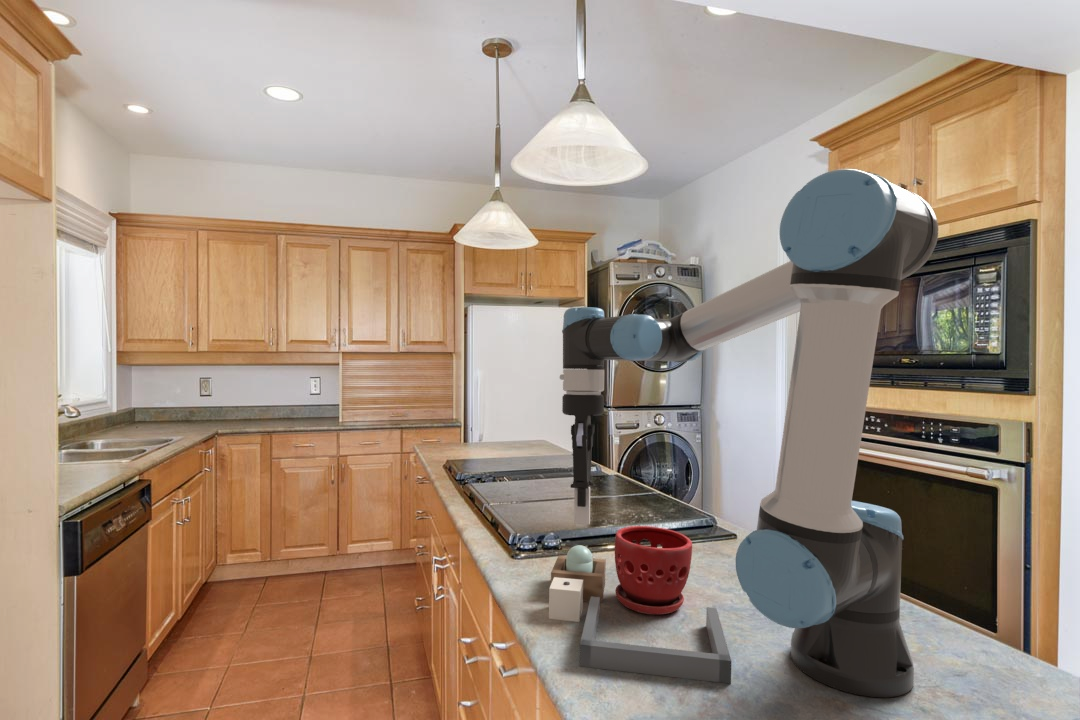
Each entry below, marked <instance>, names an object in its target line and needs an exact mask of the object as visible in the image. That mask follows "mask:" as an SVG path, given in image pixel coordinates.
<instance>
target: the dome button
mask: <svg viewBox="0 0 1080 720" xmlns="http://www.w3.org/2000/svg"><path fill="white" fill-rule="evenodd" d="M566 556H567V557H566V571H576V572H588V573H592V569H593V554H592V551H591V550H590V549H589V548H588V547H587V546H584V545H581V544H578V545H574V546H572V547H570V548H569V550H568V552H567V554H566Z"/></svg>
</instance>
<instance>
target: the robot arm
mask: <svg viewBox="0 0 1080 720" xmlns="http://www.w3.org/2000/svg"><path fill="white" fill-rule="evenodd" d="M938 239H939V224H938V219H937V216H936V214H935V211H934V210H933V208H932V207H931V205H930V204H929V203H928V202H927V201H926V200H925V199H923V198H922V196H919V195H918V194H916V193H915V192H912V191H910V190H907V189H904V188H902V187H900V186H899V185H896V184H894V183H891V182H889V180H887V179H886V178H885V177H883V176H881V175H880V174H878V173H872V172H870V171H863V170H860V169H859V170H858V169H854V168H853V169H852V168H840V169H839V168H838V169H835V170H830V171H827V172H825V173H822V174H820V175H818V176H816V177H814V178H812V179H810V181H808V182H806V183H805V185H803V186H802V188H801V189H800V190H798V191H796V193H795V194H794V195H793V196H792V197H791V199H790V200H789V202H788V204H787V206H786V207H785V209H784V211H783V214H782V216H781V219H780V224H779V241H780V245H781V248H782V250H783V251H784V253H785V255H786V256H787V258H788V259H789V261H787V262H785V263H783V264H781V265H779V266H777V267H775V268H773V269H771V270H769V271H766V272H765V273H762V274H760V275H758V276H756V277H754V278H752V279H750V280H747V281H746V282H744V283H741V284H740V285H738V286H735V287H733V288H731V289H729V290H727V291H725V292H723V293H721V294H719V295H716V296H714V297H713V298H710V299H708V300H707V301H704V302H702V303H700V304H698V305H696V306H693V307H692V308H690V309H687V310H686V311H684V312H681V313H679V314H678V315H675V316H673V317H671V318H666V319H665V318H653V317H652V316H651V315H649V314H635V313H631V314H630V313H629V314H626V315H617V316H609V317H608V316H607V317H605V311H604V309H603V308H599V307H594V306H593V307H591V306H589V307H588V306H585V307H584V306H582V307H570V308H568V309H566V310H565V311H564V313H563V322H562V323H563V325H562V331H561V332H562V373H563V374H562V373H561V374H560V375H559V380H561V381H562V380H563V381H562V390H563V392H565V393H563V395H562V399H561V400H562V407H561V408H562V410H561V411H562V414H563V415H567V416H574V417H575V418H574V423H573V424H572V425H570V435H571V444H572V445H571V446H572V447H571V449H572V470H573V471H572V472H573V474H572V475H573V477H572V478H573V481H572V483H571V484H570V488H571V489H574V496H573V497H574V502H573V503H574V507H573V508H574V510H573V511H574V513H573V514H574V515H573V516H574V517H573V518H574V519H573V523H574V524H575V525H590V523H591V487H594V486H595V482H594V481H591V480H592V450H593V449H592V448H593V447H594V434H595V424H592V422H591V419H592V418H591V417H597V416H602V415H603V414H604V411H605V410H604V409H605V407H604V406H605V398H604V397H605V396H604V395H603V394H602V392H604V391H605V361H628V362H629V361H630V362H633V361H635V362H640V361H641V362H642V361H648V362H649V361H651V362H673V363H674V362H675V363H683V362H690V361H694V360H696V359H698V358H700V356H701V355H702V354H703V353H704V352H705V350H707V349H709V348H712V347H714V346H717V345H719V344H721V343H722V344H723V343H724V342H727V341H729V340H730V341H731V340H732V339H735V338H737V337H739V336H742V335H744V334H747V333H749V332H751V331H755V330H758V329H759V328H762V327H764V326H768V325H770V324H772V323H774V322H777V321H780V320H782V319H785V318H787V317H789V316H792V315H795V314H797V313H799V317H798V323H797V325H798V326H797V331H796V340H795V344H794V345H795V346H794V354H793V360H792V368H791V375H790V380H789V381H790V382H789V389H788V396H787V403H786V410H785V416H784V417H785V418H784V423H783V424H784V425H783V432H782V433H783V434H782V440H781V447H780V453H779V460H778V468H777V473H776V474H777V475H776V483H775V489H774V490H773V491H772V492H770V493H769V494H767V495H766V496H764V497H763V498H761V500H760V503H759V509H758V510H759V511H758V518H757V526H756V530H753V531H752V532H750V533H749V534H748V535H746V536H745V537H744V539H742V541H741V542H740V544H739V546H738V547H737V550H736V555H735V571H736V575H737V579H738V583H739V585H740V586H741V589H742V591H743V592H744V593H746V595H747V597H748V601H750V603H751V604H752V606H753V607H754V608H755V609H756V610H758V612H759V613H760V614H761V615H763V616H764V617H765V618H767V619H768V620H769V621H772V622H773V623H776V624H778V625H780V626H783V627H786V628H789V629H793V632H792V635H791V639H790V658H791V660H792V662H793V663H794V665H795V666H796V667H797V668H798V669H799V670H800V671H802V672H803V673H804V674H806V675H807V676H809V677H810V678H812V679H813V680H815V681H818V682H819V683H821V684H824V685H825V686H828V687H830V688H833V689H836V690H839V691H843V692H846V693H849V694H854V695H858V696H865V697H872V698H893V697H894V698H895V697H898V696H903V695H905V694H907V693H908V692H910V691H912V689H913V687H914V681H915V680H914V678H915V677H914V675H915V667H914V662H913V660H912V656H911V653H910V650H909V646H908V644H907V640H906V637H905V635H904V632H903V631H904V630H903V629H902V625H901V622H900V620H901V618H900V616H901V615H900V614H901V613H900V611H901V587H902V586H901V584H902V555H903V553H902V552H903V551H902V550H903V540H904V535H903V532H902V527H903V526H902V519H901V516H900V515H899V514H898V513H897V512H896V511H895V510H893V509H891V508H887V507H884V506H880V505H878V504H877V505H876V504H872V503H867V502H861V501H857V500H853V493H854V489H855V482H856V475H857V469H858V461H859V456H860V450H861V443H862V436H863V435H862V434H863V431H864V430H863V429H864V422H865V416H866V411H867V410H866V409H867V404H868V403H867V402H868V396H869V391H870V385H871V377H872V370H873V365H874V357H875V352H876V344H877V337H878V331H879V325H880V319H881V313H882V309H883V308H884V306H885V305H887V304H888V303H889V302H891V301H892V300H894V299H895V298H897V297H898V296H899V294H900V291H901V283H902V280H904V279H907V277H910V276H911V275H913V274H914V273H915V272H917V271H918V270H920V269H921V267H923V266H924V265H925V264H926V263H927V262H928V260H929V259H930V257H931V256H932V254H933V252H934V250H935V248H936V246H937V242H938Z"/></svg>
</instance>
